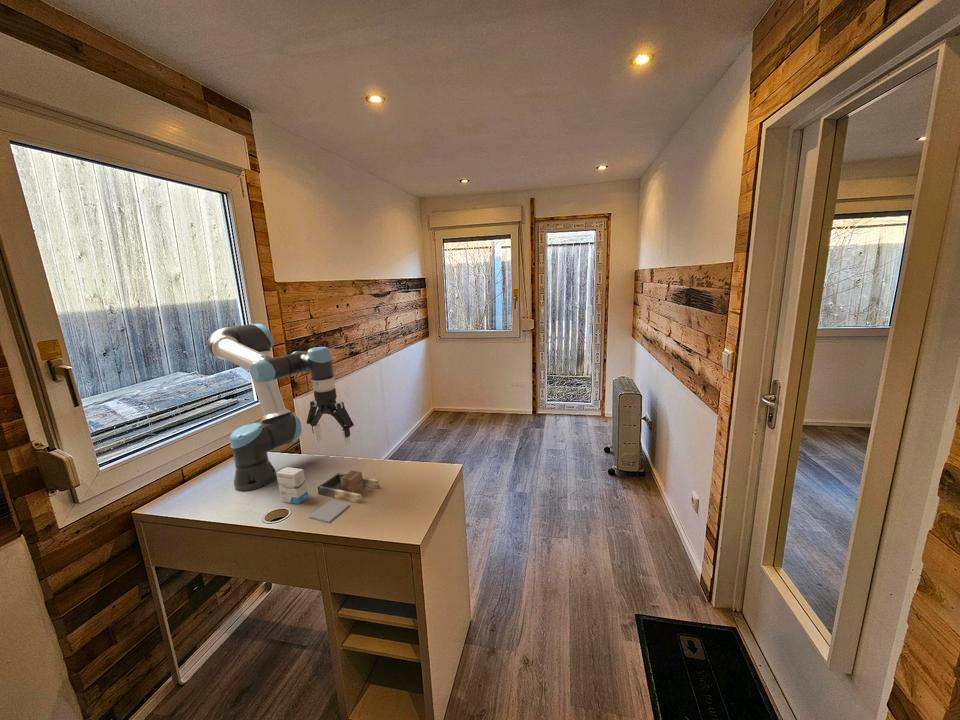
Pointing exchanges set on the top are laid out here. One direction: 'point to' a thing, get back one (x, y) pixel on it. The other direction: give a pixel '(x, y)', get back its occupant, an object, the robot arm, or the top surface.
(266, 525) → the top surface
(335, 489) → the channel
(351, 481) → the walnut block
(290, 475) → the ink box
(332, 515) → the slate pad
